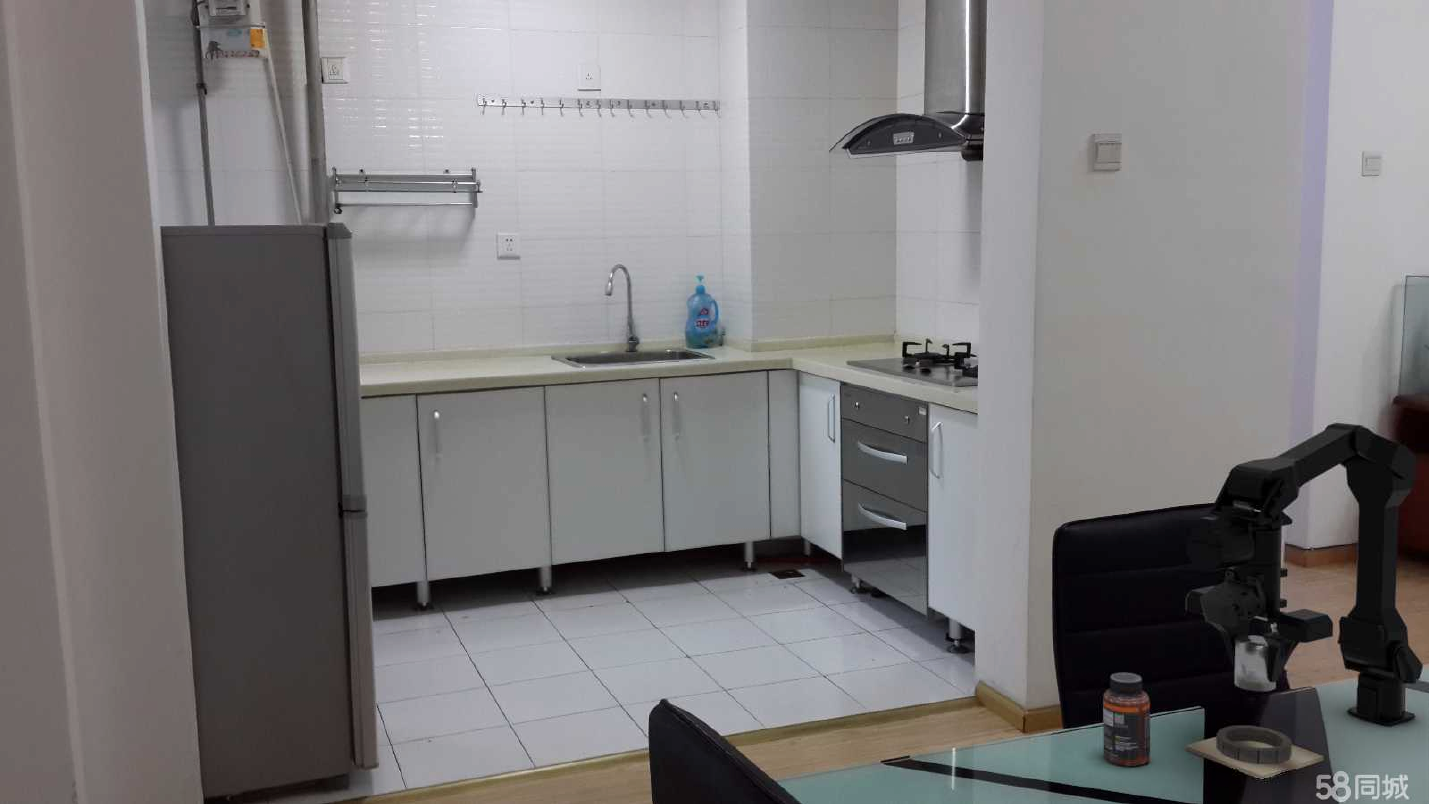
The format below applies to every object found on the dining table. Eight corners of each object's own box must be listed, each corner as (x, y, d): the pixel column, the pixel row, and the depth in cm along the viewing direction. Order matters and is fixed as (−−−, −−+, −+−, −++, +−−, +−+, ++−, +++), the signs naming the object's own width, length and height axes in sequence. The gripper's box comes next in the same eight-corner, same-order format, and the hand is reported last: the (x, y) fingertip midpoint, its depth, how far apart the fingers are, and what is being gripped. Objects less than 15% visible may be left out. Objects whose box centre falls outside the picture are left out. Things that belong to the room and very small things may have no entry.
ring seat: (1246, 732, 174) (1246, 715, 174) (1323, 760, 164) (1323, 743, 164) (1185, 749, 169) (1186, 732, 168) (1261, 780, 158) (1262, 762, 158)
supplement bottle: (1144, 750, 169) (1144, 669, 168) (1155, 768, 163) (1155, 684, 162) (1098, 750, 169) (1099, 669, 168) (1108, 767, 164) (1108, 684, 162)
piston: (1251, 676, 169) (1252, 633, 168) (1284, 686, 164) (1284, 642, 164) (1226, 683, 166) (1227, 639, 166) (1258, 693, 162) (1259, 649, 161)
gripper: (1157, 555, 168) (1156, 668, 170) (1278, 584, 151) (1275, 708, 153) (1214, 545, 173) (1213, 654, 175) (1337, 571, 157) (1334, 691, 158)
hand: (1255, 676), depth 165 cm, fingers closed on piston, 5 cm apart
